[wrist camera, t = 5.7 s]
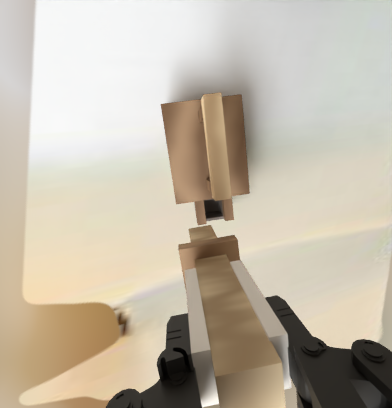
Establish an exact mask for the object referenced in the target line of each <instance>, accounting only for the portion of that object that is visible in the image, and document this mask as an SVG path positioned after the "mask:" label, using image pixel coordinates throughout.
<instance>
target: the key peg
mask: <svg viewBox="0 0 392 408" xmlns="http://www.w3.org/2000/svg"><path fill="white" fill-rule="evenodd" d="M189 234H190V240H191V243H185V244H180V245H179V254H180V260H181V266H182V271H183V277H184V283H185V288H186V282H185V270H188V269H193V268H196V273H197V278H198V284H199V289H200V295H201V300H202V306H203V312H204V317H205V323H206V328H207V334H208V339H209V345H210V350H211V356H212V363H213V369H214V375H215V381H216V387H217V394H218V399H219V405H220V408H286V405H285V393H284V380H283V367H282V361H281V359H280V357H279V356H278V354H277V352H276V350H275V348H274V346H273V344H272V342H271V341H269V339H268V337H267V335H266V333H265V331H264V329H263V328H262V326H261V324H260V322H259V320H258V318H257V316H256V314H255V312H254V310H253V308H252V306H251V304H250V302H249V300H248V298H247V296H246V294H245V292H244V290H243V288H242V286H241V284H240V282H239V281H238V279H237V277H236V275H235V273H234V271H233V269H232V267H231V265H230V262H232V261H237V260H240V257H239V248H238V240H237V238H236V237H235V236H234V235H231V236H226V237H220V238H217V236H216V234H215V232H214V230H213V229H212V227H211V225H208V226H203V227H197V228H191V229H189Z"/></svg>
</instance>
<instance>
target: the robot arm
mask: <svg viewBox="0 0 392 408" xmlns="http://www.w3.org/2000/svg"><path fill="white" fill-rule="evenodd" d="M230 265H231V267H232V269H233V271H234V273H235V275H236V277H237V279H238V281H239V282H240V284H241V286H242V288H243V290H244V292H245V294H246V296H247V298H248V300H249V302H250V304H251V306H252V308H253V310H254V312H255V314H256V316H257V318H258V320H259V322H260V324H261V326H262V328H263V329H264V331H265V333H266V335H267V337H268V339H269V341H271V342H272V344H273V346H274V348H275V350H276V352H277V354H278V356H279V357H280V359H281V361H282V367H283V380H284V389H289V388H291V379H292V381H293V383H294V385H295V387H296V390H297V391H296V392H297V407H298V408H392V352H391V351H390V350H388V349H387V348H386V347H384V346H382V345H381V344H379V343H376V342H374V341H371V340H365V339H362V340H356V341H355V342H353V344H352V347H351V349H341V348H333V347H329V346H327V345H326V344H325V343H324V342H323V341H321V340H320V339H318V338H316V337H313V336H312V335H311V334H310V333H309V331H308V330H307V329H306V327H305V326H304V325H303V324H302V322H301V321H300V320H299V318H298V317H297V316H296V314H295V313H294V312H293V310H292V309H290V307H289V305H288V304H287V303H286V301H285V300H283V299H282V298H280V297H279V296H272V297H266V298H265V297H264V296H263V294H262V293H261V291H260V290H259V288H258V286H257V285H256V283H255V282H254V280H253V279H252V277H251V275H250V274H249V272H248V271H247V269H246V268H245V266H244V264H243V263H242V261H241V260H237V261H232V262H230ZM185 282H186V294H187V307H188V313H187V314H181V315H176V316H171V318H170V320H169V321H168V323H167V334H166V349H165V350H164V351H163V352H162V353H161V354H160V356H159V358H158V361H157V367H158V372H159V376H160V379H159V381H158V382H157V383H156V384H155V385H153V386H152V387H150V388H149V389H147V390H145V391H143V392H142V393H139V392H138V391H136V390H135V389H126V390H122V391H121V392H119V393H117V394H116V395H115V396H114V397H113V398H112V399H111V400H110V401H109V403H108V405H107V406H106V408H202V407H206V406H211V405H215V404H219V400H218V394H217V387H216V381H215V375H214V369H213V363H212V356H211V350H210V345H209V339H208V334H207V328H206V323H205V317H204V312H203V306H202V300H201V295H200V289H199V284H198V278H197V273H196V268H193V269H188V270H185Z"/></svg>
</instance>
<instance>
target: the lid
mask: <svg viewBox="0 0 392 408" xmlns="http://www.w3.org/2000/svg"><path fill="white" fill-rule="evenodd" d="M161 108H162V115H163V121H164V128H165V134H166V141H167V147H168V154H169V160H170V167H171V173H172V180H173V186H174V192H175V199H176V204H181V203H188V202H195V210H196V217H197V223H198V225H202V224H206V216H205V208H204V200H208V199H214V200H215V201H219V200H222V208H223V217H224V220H225V221H228V220H234V216H233V206H232V196H236V195H242V194H249V193H250V192H249V180H248V167H247V155H246V143H245V130H244V118H243V105H242V94H240V95H232V96H224V97H222V95H221V93H212V94H204V95H203V96H202V99H199V100H191V101H182V102H174V103H166V104H161Z"/></svg>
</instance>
